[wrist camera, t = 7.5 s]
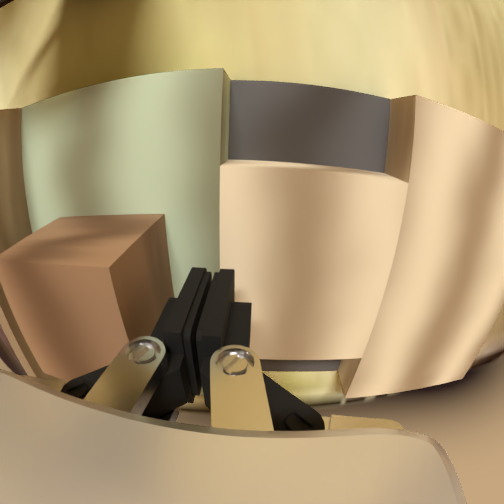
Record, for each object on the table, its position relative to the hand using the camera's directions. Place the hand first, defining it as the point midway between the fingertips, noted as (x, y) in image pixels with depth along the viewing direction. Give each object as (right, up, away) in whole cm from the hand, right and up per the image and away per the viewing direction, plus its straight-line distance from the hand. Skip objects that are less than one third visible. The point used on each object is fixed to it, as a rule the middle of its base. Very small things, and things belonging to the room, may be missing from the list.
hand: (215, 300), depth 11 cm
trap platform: (+4, +2, +4) cm, 6 cm away
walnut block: (-5, +1, +2) cm, 6 cm away
